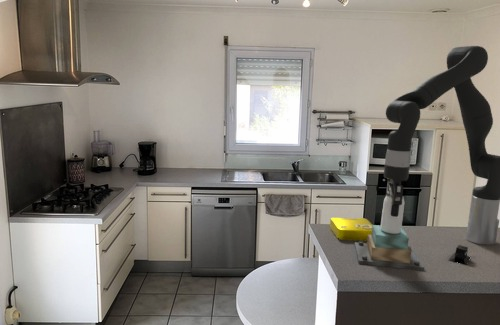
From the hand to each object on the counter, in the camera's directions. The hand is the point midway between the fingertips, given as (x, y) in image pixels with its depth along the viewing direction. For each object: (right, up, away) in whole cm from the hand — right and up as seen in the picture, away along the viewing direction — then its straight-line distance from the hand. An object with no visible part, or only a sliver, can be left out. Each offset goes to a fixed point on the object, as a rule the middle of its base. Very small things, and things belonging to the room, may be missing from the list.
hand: (392, 212), depth 135 cm
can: (0, -7, +1) cm, 7 cm away
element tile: (-7, -12, +24) cm, 28 cm away
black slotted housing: (+25, -17, +4) cm, 30 cm away
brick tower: (-1, -15, +3) cm, 16 cm away
